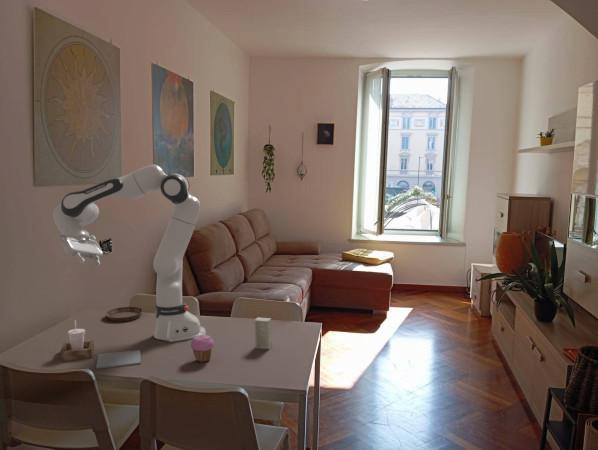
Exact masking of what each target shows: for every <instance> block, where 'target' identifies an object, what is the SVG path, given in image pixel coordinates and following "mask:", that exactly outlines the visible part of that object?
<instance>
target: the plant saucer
mask: <svg viewBox="0 0 598 450" xmlns="http://www.w3.org/2000/svg"><path fill="white" fill-rule="evenodd" d="M143 311H144V310H143V308H141V307H137V306H122V307H116V308H112V309H110V310H108V311H106V312H105V316H106V317H107V318H108V319H109V320H110V321H113V322H130V321H133V319H134V320H137V319H138V318H139V317H141V315H142V314H143ZM119 313H120V314H119Z"/></svg>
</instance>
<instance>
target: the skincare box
mask: <svg viewBox="0 0 598 450" xmlns="http://www.w3.org/2000/svg"><path fill="white" fill-rule="evenodd" d="M272 327H273V326H272V317H259V316H258V317H256V318H255V319H254V341H255V342H254V345H255V349H258V350H259V349H260V350H261V349H262V350H270V349H271V347H272V346H273V331H272Z"/></svg>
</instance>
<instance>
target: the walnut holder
mask: <svg viewBox="0 0 598 450" xmlns="http://www.w3.org/2000/svg"><path fill="white" fill-rule="evenodd" d="M94 341H95V339H91V340H90V339H88V340H84V345H83V349H78V350H72V348H71V343H70V341H68V342H63V343H62V346H61V349H60V350H59V357H60V362H64V361H74V360H81V359H91V358H92V359H93V355H94V350H95V343H94Z"/></svg>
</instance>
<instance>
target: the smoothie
mask: <svg viewBox="0 0 598 450" xmlns="http://www.w3.org/2000/svg"><path fill="white" fill-rule="evenodd" d="M85 334H86V329H85V328H77V320H76V319H74V328H73V329H70V330H68V332H67V335H68V336H69V342H70V343H71V348H72V350H78V349H83V345H84V341H85Z"/></svg>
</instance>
